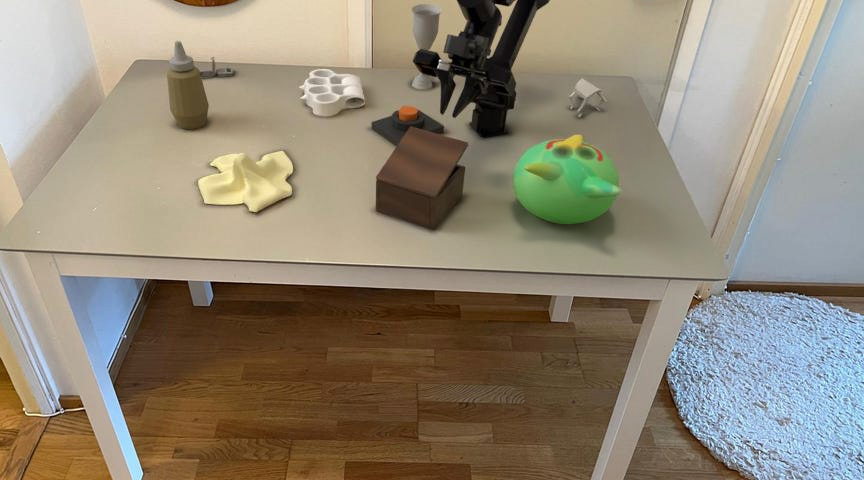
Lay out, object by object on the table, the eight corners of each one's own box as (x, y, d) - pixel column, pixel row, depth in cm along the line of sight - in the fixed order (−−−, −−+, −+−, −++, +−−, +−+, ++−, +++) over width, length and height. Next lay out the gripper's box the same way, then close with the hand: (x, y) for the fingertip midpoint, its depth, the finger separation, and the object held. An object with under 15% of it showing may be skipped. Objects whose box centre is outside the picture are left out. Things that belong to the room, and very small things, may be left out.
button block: (415, 114, 153) (416, 100, 151) (443, 132, 147) (445, 118, 145) (371, 129, 148) (371, 114, 145) (399, 148, 141) (399, 133, 139)
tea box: (407, 178, 133) (409, 149, 128) (462, 196, 128) (465, 166, 124) (375, 210, 124) (375, 180, 120) (432, 230, 120) (435, 200, 116)
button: (409, 111, 147) (410, 104, 146) (421, 119, 145) (421, 111, 144) (394, 116, 146) (395, 109, 144) (406, 124, 143) (406, 116, 142)
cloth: (281, 217, 122) (278, 188, 118) (181, 206, 124) (175, 177, 120) (310, 154, 139) (309, 127, 135) (223, 145, 141) (219, 118, 137)
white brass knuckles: (366, 115, 152) (300, 118, 151) (358, 80, 166) (297, 82, 164) (366, 101, 150) (299, 104, 149) (358, 67, 164) (297, 69, 162)
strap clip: (232, 71, 169) (230, 54, 166) (233, 76, 167) (231, 59, 164) (197, 74, 167) (194, 57, 164) (197, 79, 165) (195, 62, 162)
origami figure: (610, 117, 154) (615, 97, 151) (574, 119, 153) (579, 98, 150) (590, 93, 163) (594, 74, 160) (556, 95, 162) (560, 75, 159)
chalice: (409, 77, 168) (413, 3, 156) (437, 79, 167) (443, 5, 156) (406, 90, 162) (409, 14, 151) (434, 92, 162) (440, 16, 150)
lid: (410, 129, 126) (410, 126, 125) (468, 145, 122) (468, 142, 121) (376, 180, 120) (375, 177, 119) (435, 199, 116) (435, 196, 115)
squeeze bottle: (184, 136, 144) (169, 53, 132) (166, 122, 148) (149, 40, 137) (218, 124, 148) (206, 43, 136) (199, 111, 152) (186, 31, 141)
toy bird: (607, 197, 129) (627, 127, 120) (609, 251, 116) (631, 177, 107) (512, 183, 132) (523, 114, 122) (503, 234, 119) (515, 162, 110)
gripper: (420, 3, 120) (388, 85, 120) (520, 24, 113) (486, 111, 113) (436, 33, 131) (407, 109, 130) (529, 54, 124) (498, 134, 123)
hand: (447, 115), depth 124 cm, fingers closed
